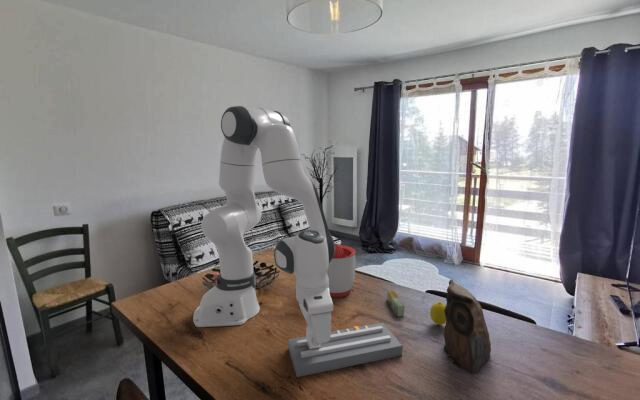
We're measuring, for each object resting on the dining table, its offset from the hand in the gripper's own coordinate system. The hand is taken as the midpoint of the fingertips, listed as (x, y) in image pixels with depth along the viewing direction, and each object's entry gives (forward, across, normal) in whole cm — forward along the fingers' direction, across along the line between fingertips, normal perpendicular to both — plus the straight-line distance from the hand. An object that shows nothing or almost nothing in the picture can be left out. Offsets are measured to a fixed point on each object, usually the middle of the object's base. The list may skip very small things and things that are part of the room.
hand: (313, 338), depth 88 cm
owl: (+6, +12, +41) cm, 43 cm away
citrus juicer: (+6, -37, +18) cm, 42 cm away
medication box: (+6, -18, +35) cm, 40 cm away
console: (+6, 0, +9) cm, 11 cm away
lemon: (+6, -4, +43) cm, 44 cm away
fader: (+3, 0, 0) cm, 3 cm away
